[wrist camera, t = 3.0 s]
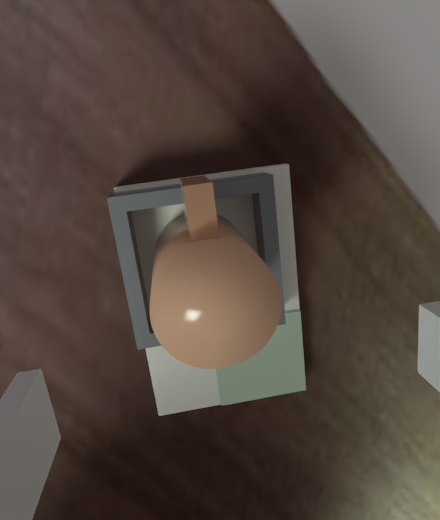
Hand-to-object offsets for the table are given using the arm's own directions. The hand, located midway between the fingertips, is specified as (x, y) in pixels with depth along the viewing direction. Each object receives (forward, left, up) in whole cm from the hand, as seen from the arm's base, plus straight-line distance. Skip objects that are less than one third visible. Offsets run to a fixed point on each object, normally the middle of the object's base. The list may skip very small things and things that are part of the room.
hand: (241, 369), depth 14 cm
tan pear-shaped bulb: (0, +1, -16) cm, 16 cm away
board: (+1, -4, -17) cm, 17 cm away
